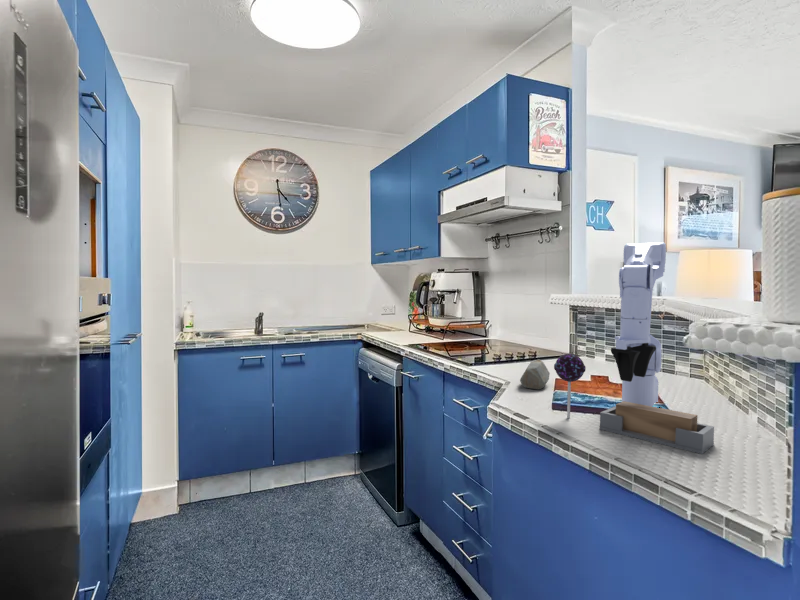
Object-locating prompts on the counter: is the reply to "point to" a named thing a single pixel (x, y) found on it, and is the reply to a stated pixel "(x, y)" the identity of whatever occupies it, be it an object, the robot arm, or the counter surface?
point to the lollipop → (569, 372)
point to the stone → (535, 375)
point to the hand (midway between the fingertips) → (633, 378)
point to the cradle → (683, 439)
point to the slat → (654, 420)
